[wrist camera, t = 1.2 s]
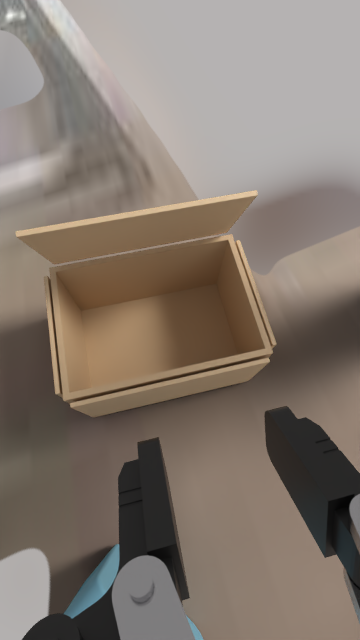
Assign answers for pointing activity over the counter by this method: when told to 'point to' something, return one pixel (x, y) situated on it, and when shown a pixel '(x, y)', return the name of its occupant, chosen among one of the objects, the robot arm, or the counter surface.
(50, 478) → the counter surface
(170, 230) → the flap
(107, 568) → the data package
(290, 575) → the counter surface
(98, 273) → the carton
